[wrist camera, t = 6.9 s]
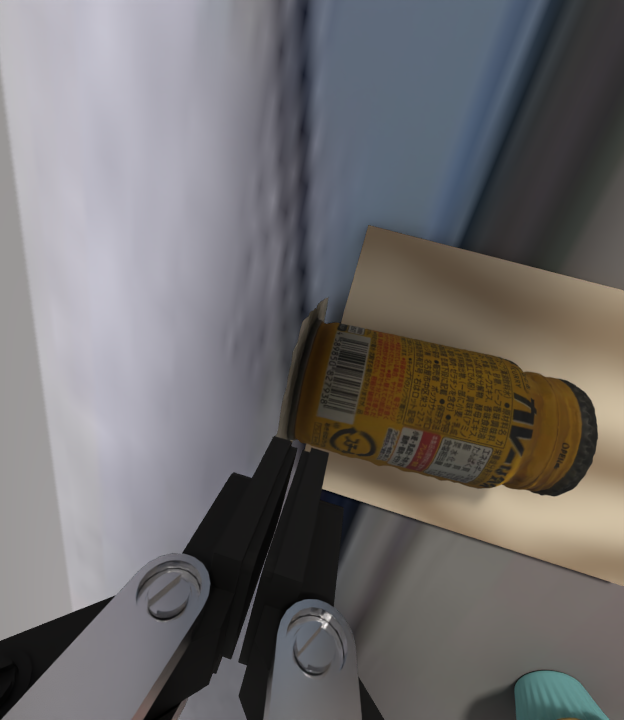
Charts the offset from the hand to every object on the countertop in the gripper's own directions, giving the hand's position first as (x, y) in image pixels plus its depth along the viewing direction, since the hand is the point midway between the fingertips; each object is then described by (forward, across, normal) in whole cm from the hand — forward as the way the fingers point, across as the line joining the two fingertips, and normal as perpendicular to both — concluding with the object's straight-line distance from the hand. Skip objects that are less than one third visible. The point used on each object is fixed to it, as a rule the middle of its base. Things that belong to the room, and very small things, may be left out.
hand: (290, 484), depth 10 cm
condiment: (+6, +1, 0) cm, 6 cm away
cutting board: (+11, -10, 0) cm, 15 cm away
